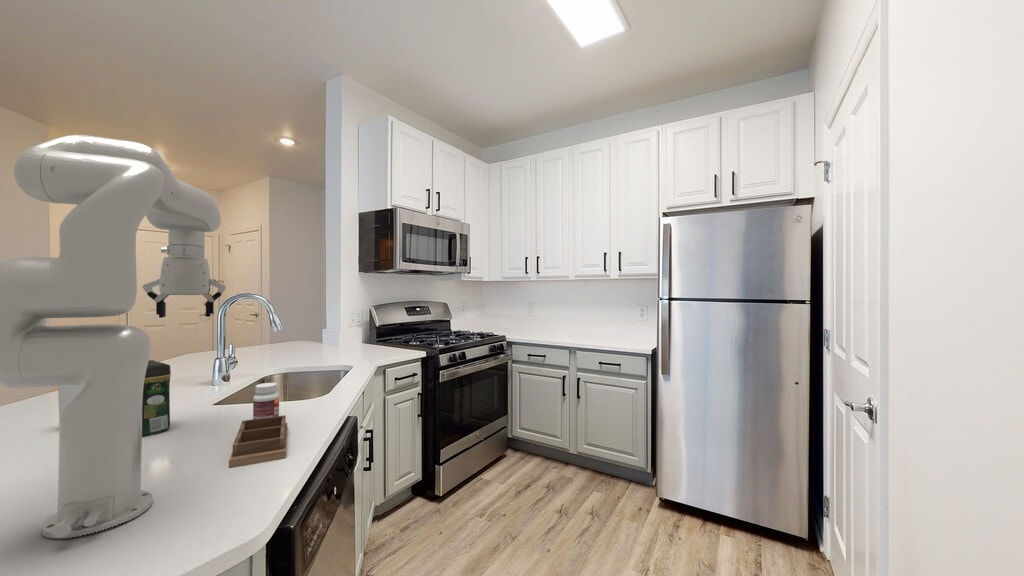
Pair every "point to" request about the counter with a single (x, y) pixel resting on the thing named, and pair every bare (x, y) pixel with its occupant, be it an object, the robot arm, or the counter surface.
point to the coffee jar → (156, 398)
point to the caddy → (259, 441)
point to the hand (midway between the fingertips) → (185, 316)
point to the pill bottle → (266, 401)
